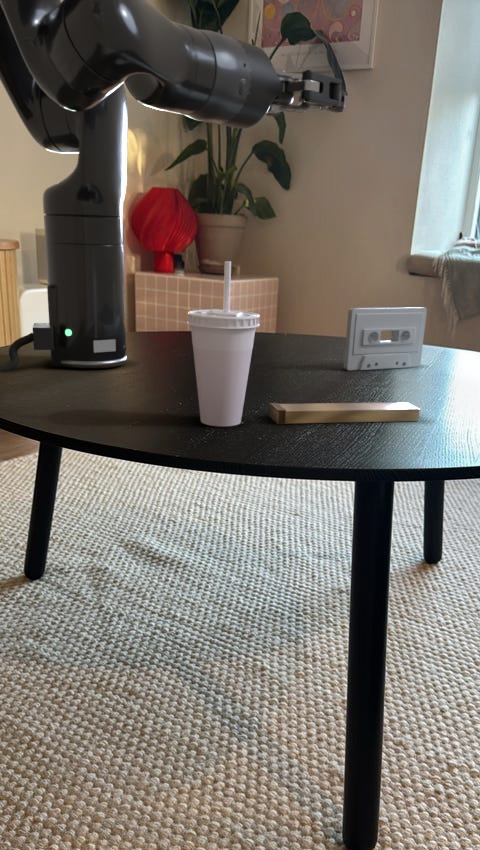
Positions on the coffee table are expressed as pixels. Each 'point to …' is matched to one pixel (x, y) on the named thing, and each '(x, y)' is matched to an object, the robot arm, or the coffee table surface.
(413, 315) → the cassette
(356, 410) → the batten
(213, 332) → the smoothie
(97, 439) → the coffee table surface
